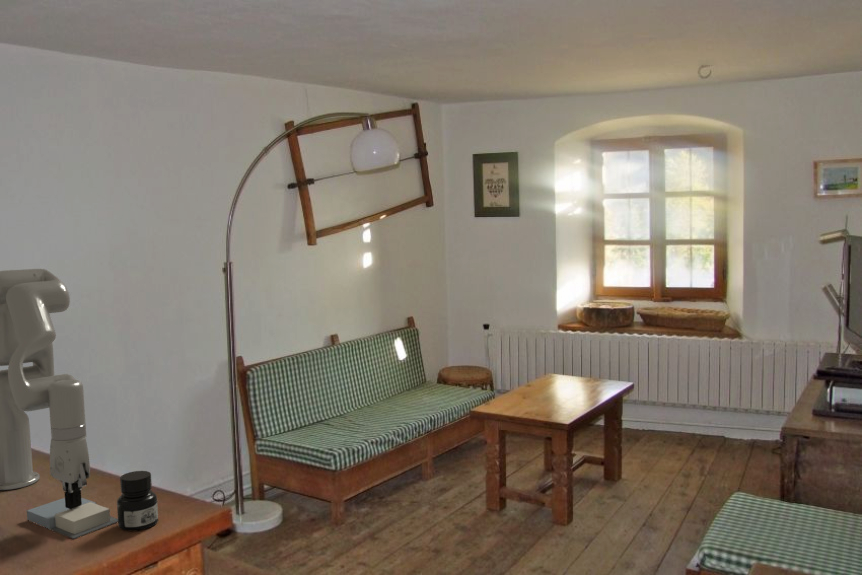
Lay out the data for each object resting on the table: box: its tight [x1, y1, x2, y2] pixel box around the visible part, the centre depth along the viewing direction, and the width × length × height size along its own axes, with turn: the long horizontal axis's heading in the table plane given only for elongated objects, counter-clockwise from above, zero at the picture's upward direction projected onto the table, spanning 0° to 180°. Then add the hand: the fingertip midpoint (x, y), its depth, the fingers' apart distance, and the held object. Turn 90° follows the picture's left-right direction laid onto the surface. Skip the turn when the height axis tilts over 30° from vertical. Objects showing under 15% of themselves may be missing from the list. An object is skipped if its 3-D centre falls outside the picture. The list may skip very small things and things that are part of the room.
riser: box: [26, 497, 97, 530], centre depth 188 cm, size 10×12×2 cm
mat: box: [50, 515, 118, 540], centre depth 183 cm, size 10×12×1 cm
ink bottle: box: [116, 470, 159, 532], centre depth 182 cm, size 10×9×12 cm
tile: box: [55, 502, 111, 534], centre depth 183 cm, size 8×9×3 cm
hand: (73, 506), depth 185 cm, fingers closed
